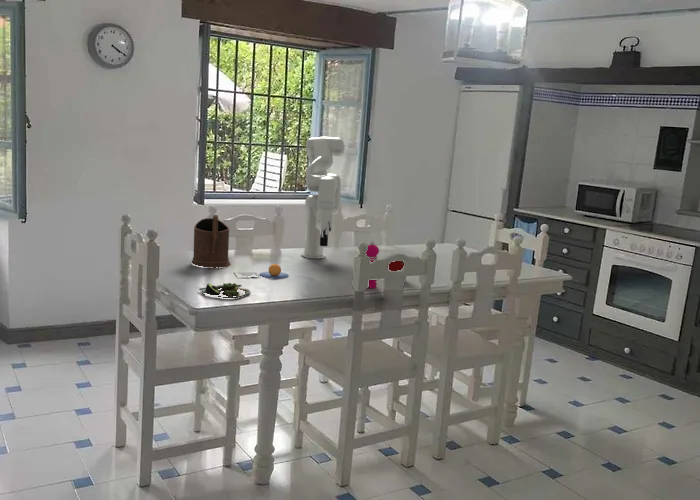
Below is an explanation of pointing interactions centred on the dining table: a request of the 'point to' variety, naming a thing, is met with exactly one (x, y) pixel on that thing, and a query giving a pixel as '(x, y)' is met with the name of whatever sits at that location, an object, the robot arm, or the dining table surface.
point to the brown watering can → (211, 243)
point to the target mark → (280, 276)
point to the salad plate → (228, 290)
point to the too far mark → (249, 274)
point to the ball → (274, 270)
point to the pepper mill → (372, 255)
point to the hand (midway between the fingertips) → (323, 245)
